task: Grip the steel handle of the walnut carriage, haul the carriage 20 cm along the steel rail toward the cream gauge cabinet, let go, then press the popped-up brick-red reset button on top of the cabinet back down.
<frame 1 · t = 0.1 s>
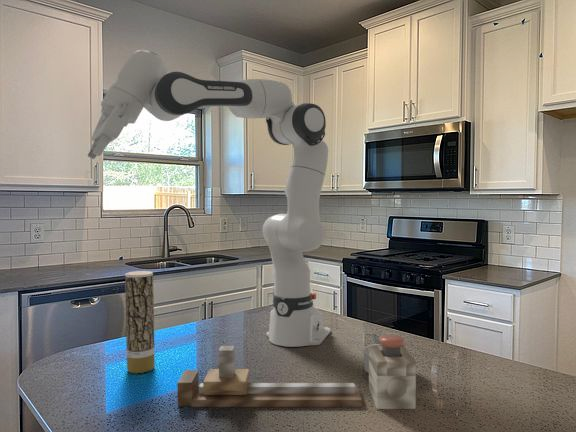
hand: (93, 156, 107), 54 cm above the table, tool tilted 30°, fingers open, 8 cm apart
rail track: (281, 398, 98), on the table
reset button: (391, 347, 97), point 11 cm above the table, slide at 2.0 cm
carriage: (226, 369, 98), point 6 cm above the table, slide at -12.0 cm
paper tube: (141, 370, 115), on the table
saucepan: (381, 367, 116), on the table
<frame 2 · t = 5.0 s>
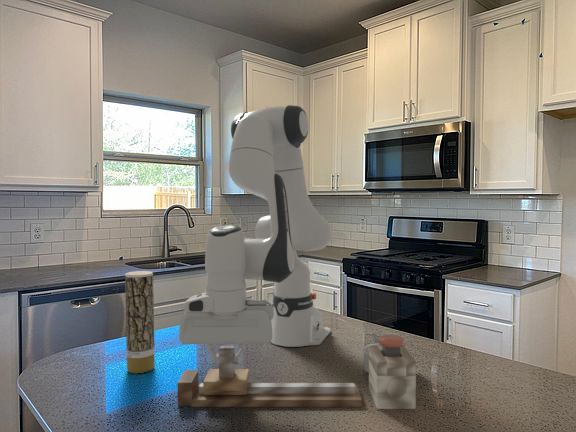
hand: (226, 362, 98), 8 cm above the table, tool pointing down, fingers closed on carriage, 3 cm apart
carriage: (226, 369, 98), point 6 cm above the table, slide at -12.0 cm, touching gripper
everything else where it was.
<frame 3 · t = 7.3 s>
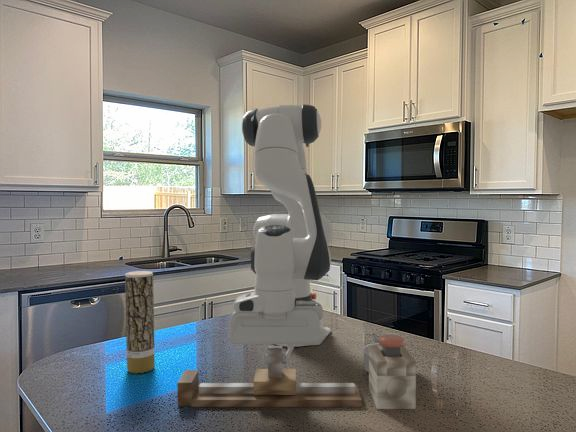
hand: (275, 362, 98), 8 cm above the table, tool pointing down, fingers closed on carriage, 3 cm apart
carriage: (275, 369, 98), point 6 cm above the table, slide at -1.3 cm, touching gripper
everything else where it was.
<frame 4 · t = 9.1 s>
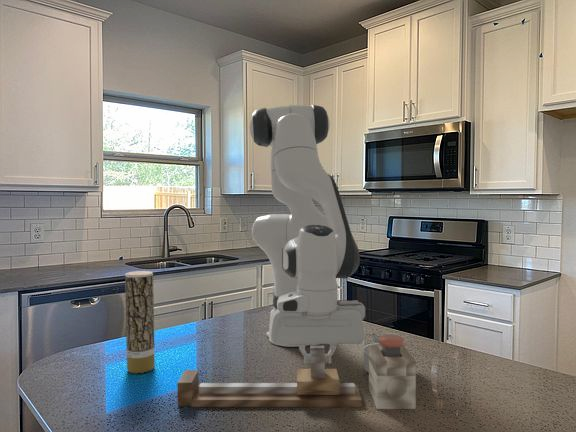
hand: (317, 362, 98), 8 cm above the table, tool pointing down, fingers closed on carriage, 3 cm apart
carriage: (317, 369, 98), point 6 cm above the table, slide at 7.9 cm, touching gripper
everything else where it was.
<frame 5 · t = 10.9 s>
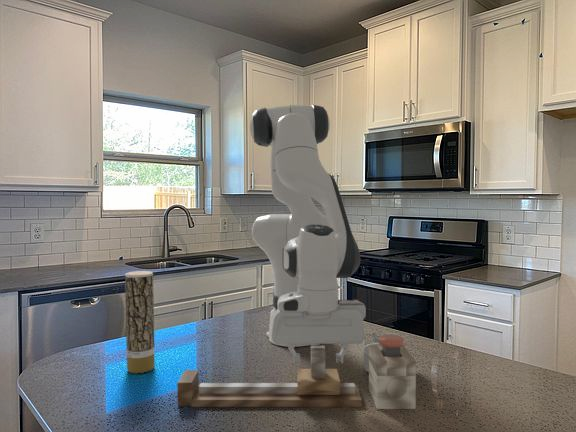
hand: (318, 362, 98), 8 cm above the table, tool pointing down, fingers open, 8 cm apart
carriage: (317, 369, 98), point 6 cm above the table, slide at 8.0 cm
everything else where it was.
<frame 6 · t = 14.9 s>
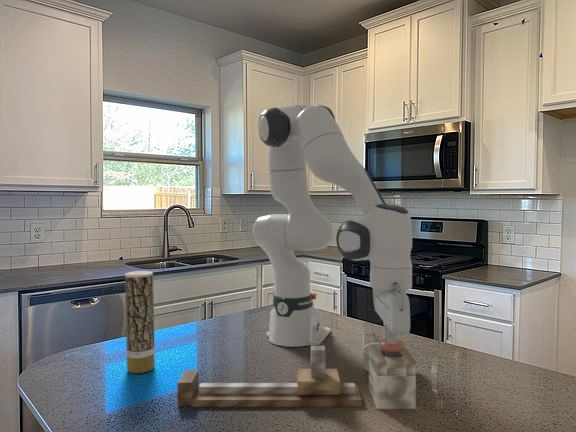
hand: (390, 342, 97), 12 cm above the table, tool pointing down, fingers closed
reset button: (391, 351, 97), point 10 cm above the table, slide at 1.1 cm, touching gripper
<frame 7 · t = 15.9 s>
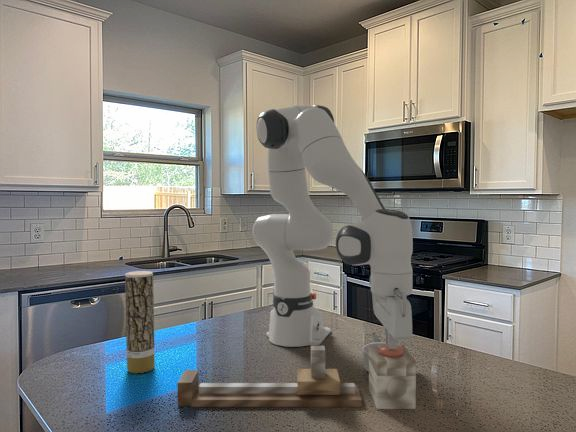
hand: (391, 347, 97), 11 cm above the table, tool pointing down, fingers closed
reset button: (391, 357, 97), point 9 cm above the table, slide at -0.1 cm
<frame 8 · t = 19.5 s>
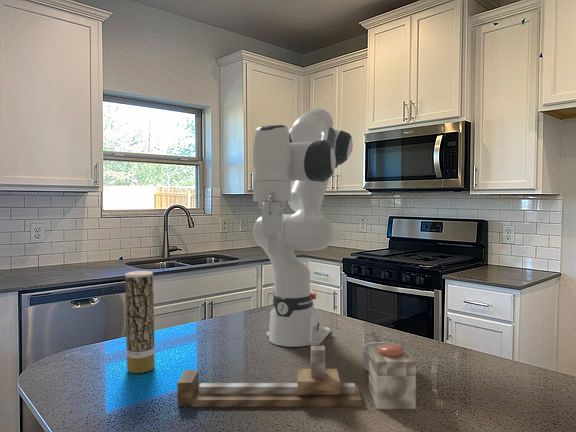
hand: (272, 252, 105), 31 cm above the table, tool pointing down, fingers closed
at the end: carriage slide at 8.0 cm; reset button slide at -0.1 cm; the gripper is holding nothing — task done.
